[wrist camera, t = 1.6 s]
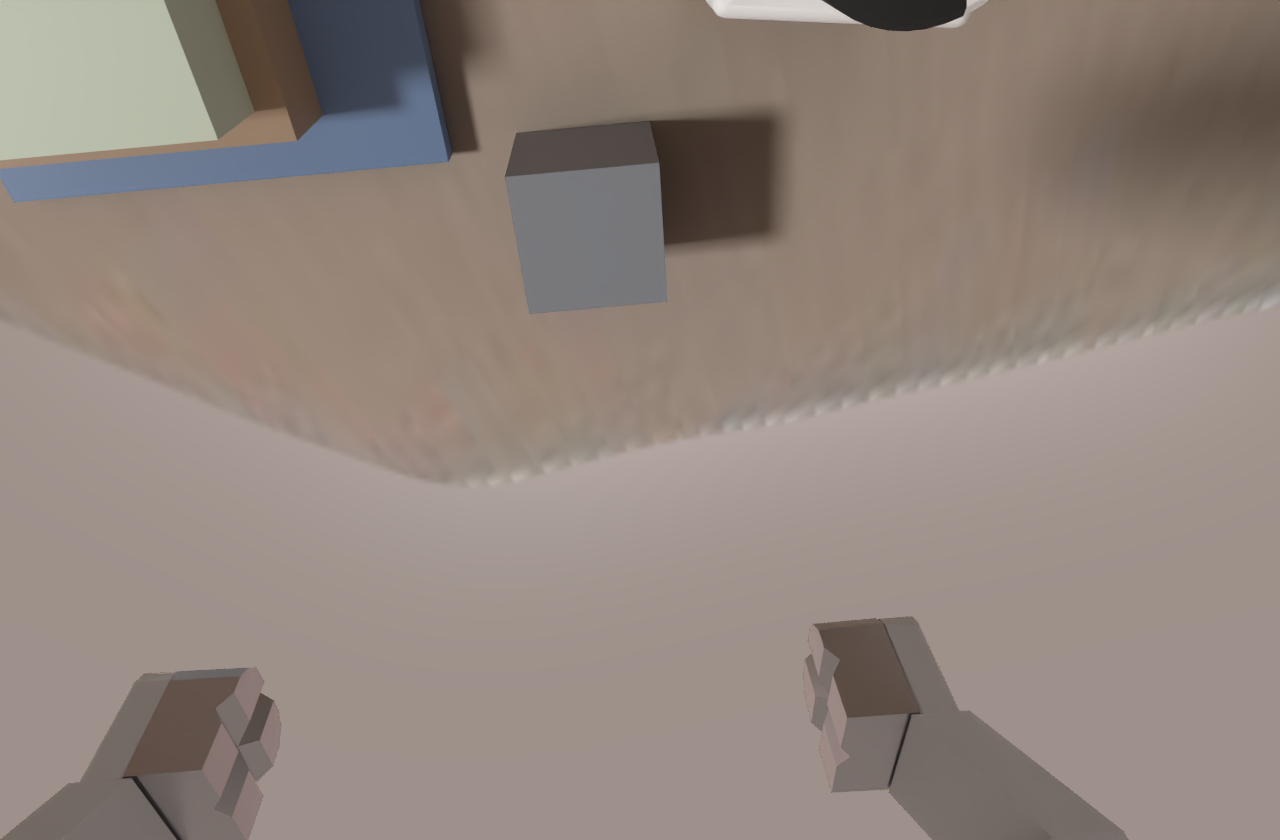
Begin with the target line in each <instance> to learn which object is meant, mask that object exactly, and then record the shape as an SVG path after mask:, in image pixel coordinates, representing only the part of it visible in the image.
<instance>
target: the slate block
mask: <svg viewBox="0 0 1280 840" xmlns="http://www.w3.org/2000/svg"><path fill="white" fill-rule="evenodd" d="M505 180H506V186H507V191H508V197H509V202H510V208H511V214H512V219H513V225H514V230H515V236H516V242H517V247H518V253H519V259H520V264H521V270H522V275H523V281H524V287H525V292H526V298H527V304H528V309H529V314H536V313H547V312H557V311H568V310H579V309H590V308H601V307H612V306H623V305H633V304H644V303H655V302H666V301H667V285H666V268H665V251H664V235H663V218H662V201H661V184H660V168H659V160H658V155H657V151H656V147H655V143H654V138H653V134H652V130H651V125H650V121H642V122H632V123H621V124H610V125H599V126H588V127H578V128H567V129H556V130H545V131H534V132H523V133H516V136H515V140H514V144H513V148H512V152H511V156H510V159H509V163H508V167H507V171H506V175H505Z"/></svg>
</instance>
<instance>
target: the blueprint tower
mask: <svg viewBox="0 0 1280 840" xmlns="http://www.w3.org/2000/svg"><path fill="white" fill-rule="evenodd" d="M451 155H452V150H451V145H450V140H449V136H448V131H447V126H446V122H445V117H444V112H443V108H442V103H441V98H440V94H439V89H438V85H437V80H436V75H435V71H434V66H433V61H432V57H431V52H430V47H429V43H428V38H427V34H426V29H425V24H424V20H423V15H422V10H421V6H420V1H419V0H0V179H1V181H2V182H3V184H4V186H5V188H6V189H7V191H8V193H9V195H10V197H11V198H12V200H13V202H24V201H34V200H45V199H56V198H67V197H77V196H88V195H99V194H109V193H120V192H131V191H141V190H152V189H163V188H174V187H184V186H195V185H206V184H216V183H227V182H238V181H248V180H259V179H270V178H281V177H291V176H302V175H313V174H323V173H334V172H345V171H355V170H366V169H377V168H388V167H398V166H409V165H420V164H430V163H441V162H449V160H450V157H451Z"/></svg>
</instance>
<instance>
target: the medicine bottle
mask: <svg viewBox="0 0 1280 840" xmlns="http://www.w3.org/2000/svg"><path fill="white" fill-rule="evenodd" d="M705 1H706V2H707V3H708V4H709V6H710V7H711V8H712V9H713V10H714V12H715V13H716V14H717V15H718V16H720V17H723V18H735V19H758V20H780V21H803V22H826V23H848V24H865V25H868V26H870V27H875V28H879V29H884V30H892V31H912V30H921V29H927V28H931V27H939V28H955V27H959V26H962V25H964V24H965V23H966V22H967V21H968V19H969V17H970V15H971V12H972V11H973V10H975V9H977V8H979V7H980V6H982V5H983V4H985V3H986V2H988V1H989V0H705Z"/></svg>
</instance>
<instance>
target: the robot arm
mask: <svg viewBox="0 0 1280 840" xmlns="http://www.w3.org/2000/svg"><path fill="white" fill-rule="evenodd" d="M808 642H809V646H810V649H811V654H810V655H809V656H808V657H807V658H806V659H805V664H804V673H803V676H804V693H805V698H806V703H807V708H808V712H809V715H810V719H811V722H812V723H813V724H814V725H815V726H816V727H817V728H818V729H819V730H821V731H822V736H821V741H820V748H819V751H820V755H821V758H822V762H823V765H824V769H825V772H826V775H827V779H828V782H829V786H830V789H831V792H848V791H866V790H883V789H890V790H889V793H890V794H891V795H892V796H893V797H894V798H895V799H896V801H897V802H898V803H899V804H900V805H901V806H902V807H903V808H904V809H905V810H906V811H907V813H908V814H909V815H910V816H911V817H912V818H913V819H914V820H915V821H916V822H917V823H918V825H920V827H921V828H922V829H923V830H924V831H925V832H926V833H927V834H928V835H929V837H930V838H931V839H932V840H1128V838H1127V837H1126V835H1125V833H1124V831H1122V830H1121V829H1120V828H1119V827H1118V826H1116V825H1115V824H1114V823H1112V822H1111V821H1110V820H1108V819H1107V818H1106V817H1105V816H1103V815H1102V814H1101V813H1099V812H1098V811H1097V810H1096V809H1094V808H1093V807H1092V806H1091V805H1089V804H1088V803H1087V802H1086V801H1084V800H1083V799H1082V798H1081V797H1079V796H1078V795H1077V794H1075V793H1074V792H1073V791H1072V790H1070V789H1069V788H1068V787H1066V786H1065V785H1064V784H1063V783H1061V782H1060V781H1059V780H1058V779H1056V778H1055V777H1054V776H1052V775H1051V774H1050V773H1049V772H1047V771H1046V770H1045V769H1044V768H1042V767H1041V766H1040V765H1038V764H1037V763H1036V762H1034V761H1033V760H1032V759H1031V758H1030V757H1028V756H1027V755H1026V754H1024V753H1023V752H1022V751H1020V750H1019V749H1018V748H1017V747H1015V746H1014V745H1013V744H1012V743H1010V742H1009V741H1008V740H1007V739H1005V738H1004V737H1003V736H1001V735H1000V734H999V733H997V732H996V731H995V730H994V729H992V728H991V727H990V726H989V725H987V724H986V723H985V722H984V721H982V720H981V719H980V718H978V717H977V716H976V715H975V714H973V713H972V712H971V711H959V709H958V707H957V705H956V702H955V700H954V698H953V696H952V694H951V692H950V690H949V687H948V685H947V683H946V681H945V679H944V677H943V675H942V672H941V670H940V668H939V666H938V664H937V662H936V660H935V658H934V656H933V653H932V651H931V649H930V647H929V645H928V643H927V640H926V638H925V636H924V634H923V632H922V630H921V628H920V625H919V624H918V622H917V621H916V620H915V619H914V618H913V617H896V618H885V619H876V618H874V619H862V620H852V621H840V622H831V623H830V622H829V623H818V624H813V625H812V626H811V628H810V630H809V636H808ZM263 684H264V680H263V678H262V677H261V675H260V673H259V671H258V669H257V668H236V669H216V670H196V671H176V672H161V673H147V674H143V675H142V676H141V677H140V678H139V679H138V680H137V681H136V682H135V683H134V684H133V685H132V687H131V689H130V690H129V692H128V694H127V696H126V698H125V700H124V702H123V703H122V705H121V707H120V709H119V711H118V713H117V715H116V717H115V718H114V720H113V722H112V724H111V725H110V727H109V729H108V731H107V733H106V735H105V736H104V738H103V740H102V742H101V744H100V746H99V747H98V750H97V751H96V753H95V755H94V757H93V759H92V760H91V762H90V764H89V766H88V768H87V770H86V772H85V773H84V775H83V777H82V779H81V781H80V782H75V783H68V784H67V785H66V786H65V787H63V788H62V789H61V790H60V791H59V792H58V793H56V794H55V795H54V796H53V797H51V798H50V799H49V800H48V801H46V802H45V803H44V804H43V805H42V806H40V807H39V808H38V809H37V810H36V811H34V812H33V813H32V814H31V815H29V816H28V817H27V818H26V819H25V820H23V821H22V822H21V823H20V824H19V825H17V826H16V827H15V828H14V829H12V830H11V831H10V832H9V833H8V834H6V835H5V836H4V837H3V838H1V839H0V840H248V839H249V836H250V833H251V830H252V827H253V824H254V821H255V818H256V815H257V813H258V810H259V806H260V804H261V801H262V798H263V794H262V792H261V789H260V787H259V785H258V783H257V781H258V780H259V779H260V778H261V777H262V776H263V775H264V774H265V773H266V772H267V771H268V770H269V769H270V768H271V767H272V766H273V764H274V761H275V758H276V755H277V752H278V749H279V743H280V731H281V722H280V716H279V711H278V709H277V706H276V704H275V702H274V700H272V699H270V698H269V697H267V696H265V695H263V694H261V693H260V692H261V689H262V687H263Z"/></svg>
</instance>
